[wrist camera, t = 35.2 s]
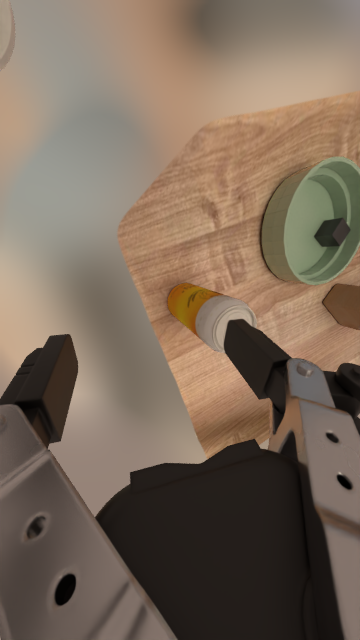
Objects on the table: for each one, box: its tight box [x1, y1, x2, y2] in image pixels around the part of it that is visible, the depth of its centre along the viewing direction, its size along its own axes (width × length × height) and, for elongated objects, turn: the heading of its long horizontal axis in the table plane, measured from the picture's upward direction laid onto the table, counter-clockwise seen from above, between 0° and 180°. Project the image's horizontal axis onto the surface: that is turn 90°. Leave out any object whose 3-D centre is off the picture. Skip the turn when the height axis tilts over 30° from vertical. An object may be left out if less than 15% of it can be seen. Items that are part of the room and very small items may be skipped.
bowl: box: [262, 157, 360, 285], centre depth 35 cm, size 19×19×6 cm
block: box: [314, 218, 351, 247], centre depth 37 cm, size 4×4×4 cm
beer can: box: [168, 283, 257, 353], centre depth 27 cm, size 6×6×15 cm
